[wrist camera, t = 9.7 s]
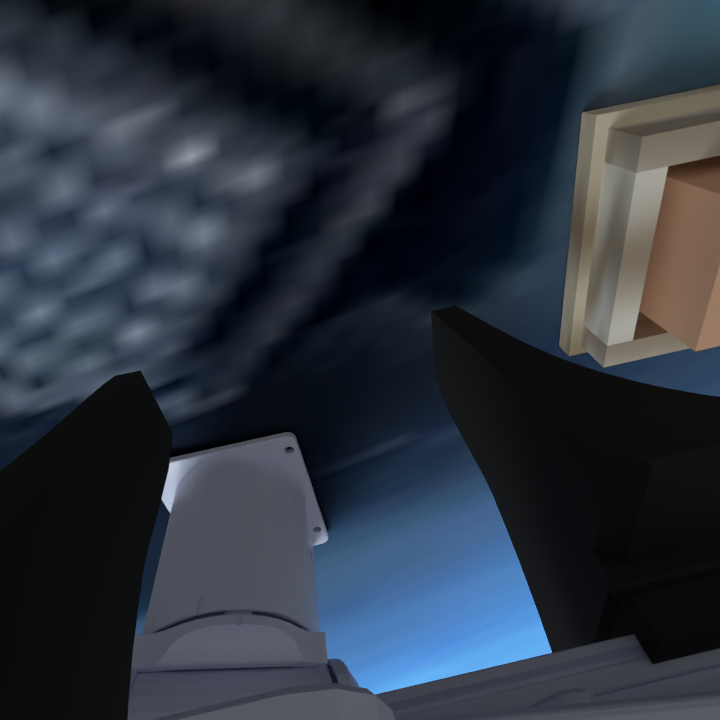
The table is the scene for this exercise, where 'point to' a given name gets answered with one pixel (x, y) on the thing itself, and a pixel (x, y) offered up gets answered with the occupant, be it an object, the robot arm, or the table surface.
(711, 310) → the keyed block
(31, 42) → the table surface
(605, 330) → the stand
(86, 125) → the table surface
